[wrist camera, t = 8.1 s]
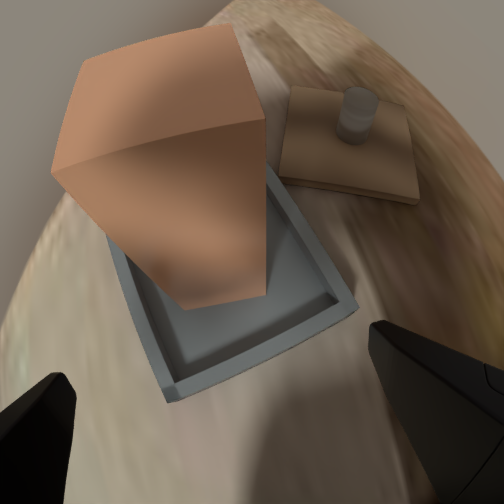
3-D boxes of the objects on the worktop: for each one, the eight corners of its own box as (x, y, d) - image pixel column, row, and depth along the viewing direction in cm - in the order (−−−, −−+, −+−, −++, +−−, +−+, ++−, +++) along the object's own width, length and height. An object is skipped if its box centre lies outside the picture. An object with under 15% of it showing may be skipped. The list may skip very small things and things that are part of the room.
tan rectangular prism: (265, 294, 18) (265, 118, 6) (184, 310, 17) (50, 172, 6) (244, 197, 20) (223, 4, 8) (173, 212, 20) (93, 36, 8)
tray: (350, 315, 18) (359, 307, 16) (177, 401, 16) (167, 403, 14) (256, 164, 22) (255, 145, 20) (113, 230, 20) (101, 216, 19)
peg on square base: (415, 205, 20) (442, 168, 16) (277, 182, 21) (279, 137, 17) (401, 111, 24) (415, 74, 20) (291, 92, 25) (293, 50, 21)
